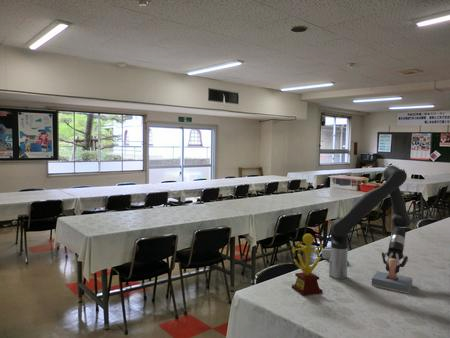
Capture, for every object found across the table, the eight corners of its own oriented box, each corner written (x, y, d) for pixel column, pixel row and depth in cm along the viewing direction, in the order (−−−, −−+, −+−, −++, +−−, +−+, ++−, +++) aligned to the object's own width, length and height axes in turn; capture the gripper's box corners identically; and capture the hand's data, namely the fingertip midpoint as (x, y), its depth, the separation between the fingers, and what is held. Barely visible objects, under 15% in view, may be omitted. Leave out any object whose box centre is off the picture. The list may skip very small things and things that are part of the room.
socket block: (371, 285, 192) (371, 278, 192) (377, 277, 204) (377, 271, 203) (408, 293, 182) (408, 285, 182) (412, 285, 193) (412, 277, 193)
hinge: (348, 262, 232) (346, 249, 229) (345, 266, 229) (343, 252, 226) (325, 256, 244) (323, 244, 241) (322, 260, 241) (320, 247, 238)
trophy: (288, 293, 180) (289, 235, 178) (295, 283, 194) (296, 229, 192) (317, 298, 174) (318, 238, 172) (322, 287, 188) (323, 232, 187)
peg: (387, 281, 192) (388, 259, 191) (389, 279, 195) (389, 257, 195) (395, 282, 190) (396, 261, 189) (396, 280, 193) (397, 259, 192)
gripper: (382, 239, 202) (377, 265, 192) (410, 243, 193) (406, 270, 184) (384, 246, 206) (378, 272, 197) (411, 250, 198) (407, 277, 189)
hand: (392, 271), depth 191 cm, fingers closed on peg, 4 cm apart
